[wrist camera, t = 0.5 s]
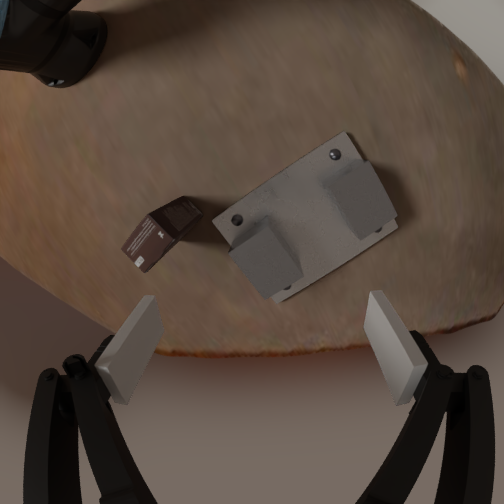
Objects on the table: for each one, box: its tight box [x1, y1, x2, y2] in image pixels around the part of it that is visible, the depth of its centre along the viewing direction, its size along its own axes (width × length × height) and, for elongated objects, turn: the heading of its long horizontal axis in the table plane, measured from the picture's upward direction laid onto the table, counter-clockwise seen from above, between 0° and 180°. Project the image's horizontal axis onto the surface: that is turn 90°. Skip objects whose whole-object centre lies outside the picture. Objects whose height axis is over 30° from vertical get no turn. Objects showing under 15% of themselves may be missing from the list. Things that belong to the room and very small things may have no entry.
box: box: [121, 196, 203, 273], centre depth 34 cm, size 6×4×12 cm
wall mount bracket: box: [212, 131, 398, 304], centre depth 35 cm, size 16×22×6 cm
